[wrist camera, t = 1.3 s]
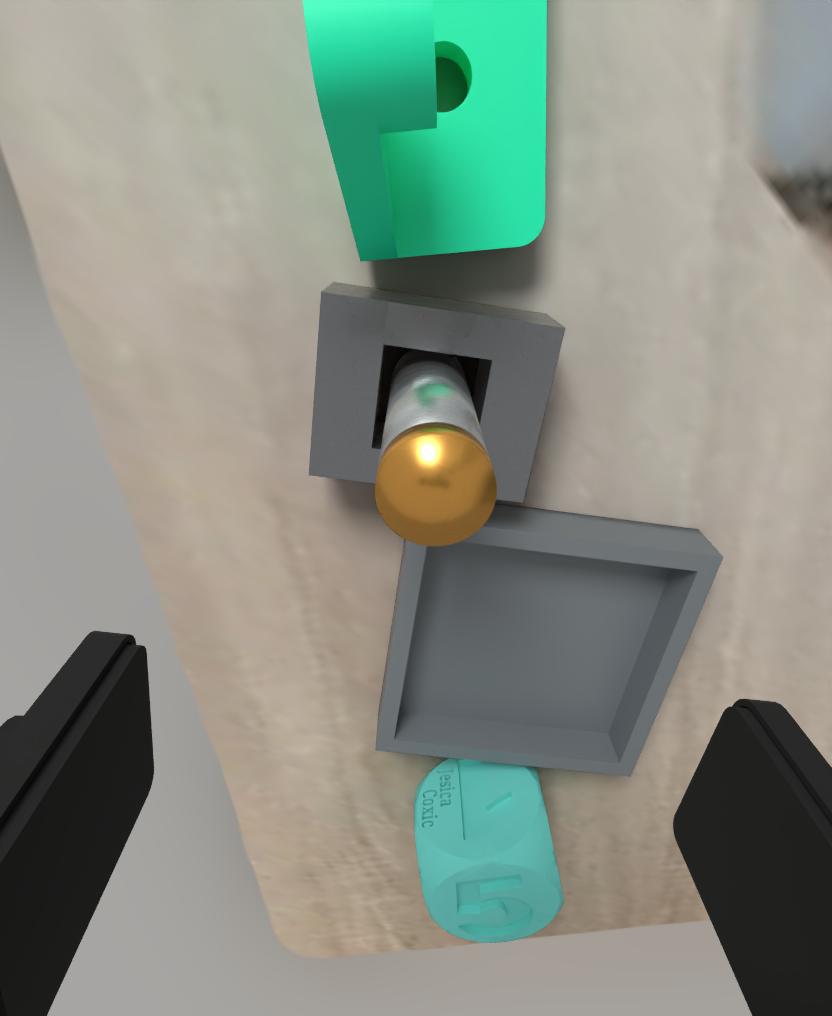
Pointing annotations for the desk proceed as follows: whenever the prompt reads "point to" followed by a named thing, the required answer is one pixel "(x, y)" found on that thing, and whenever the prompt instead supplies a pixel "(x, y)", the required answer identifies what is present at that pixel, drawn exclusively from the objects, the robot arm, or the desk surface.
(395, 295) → the block
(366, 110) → the green mounting bracket
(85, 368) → the desk surface
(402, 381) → the pin
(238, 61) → the desk surface
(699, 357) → the desk surface
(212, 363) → the desk surface
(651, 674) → the tray
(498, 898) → the decorative dice
